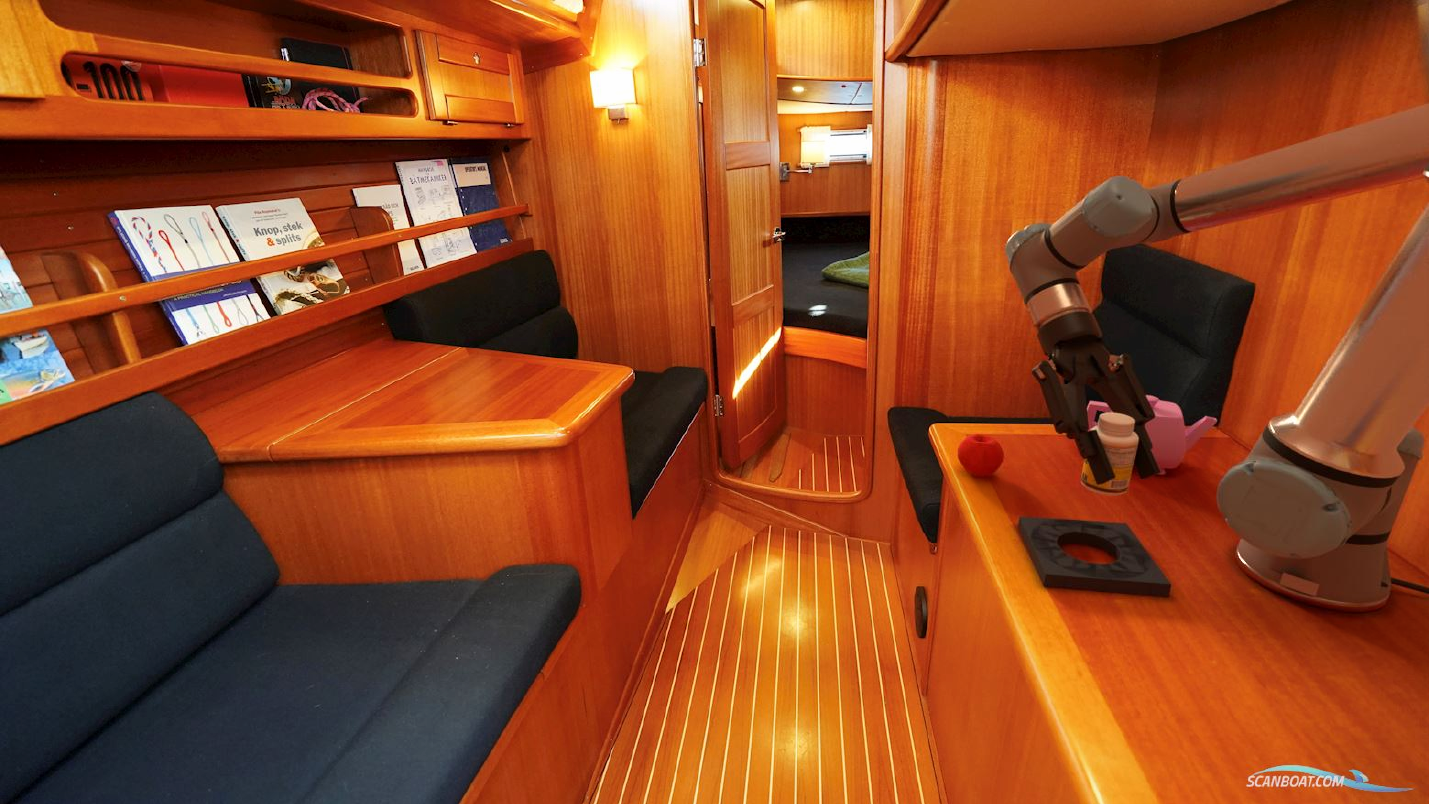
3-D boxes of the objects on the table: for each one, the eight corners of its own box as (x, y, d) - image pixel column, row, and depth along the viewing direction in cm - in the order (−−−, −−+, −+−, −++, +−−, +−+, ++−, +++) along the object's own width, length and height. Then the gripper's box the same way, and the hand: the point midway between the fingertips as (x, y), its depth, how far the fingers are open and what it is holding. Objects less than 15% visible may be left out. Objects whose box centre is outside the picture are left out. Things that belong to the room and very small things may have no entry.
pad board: (1124, 534, 96) (1126, 522, 96) (1168, 597, 83) (1172, 584, 82) (1017, 527, 100) (1019, 516, 99) (1043, 586, 86) (1045, 574, 85)
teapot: (1076, 465, 118) (1087, 401, 113) (1076, 440, 128) (1086, 380, 124) (1209, 486, 109) (1227, 417, 104) (1198, 457, 119) (1214, 393, 115)
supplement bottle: (1087, 474, 90) (1100, 406, 86) (1132, 487, 86) (1148, 416, 82) (1073, 488, 86) (1086, 418, 83) (1119, 502, 82) (1135, 429, 79)
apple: (948, 464, 120) (952, 428, 118) (991, 463, 120) (996, 427, 117) (962, 484, 113) (966, 446, 110) (1008, 483, 113) (1013, 445, 110)
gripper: (1106, 331, 95) (1172, 479, 86) (990, 341, 93) (1045, 494, 84) (1140, 304, 89) (1216, 461, 79) (1016, 313, 86) (1079, 477, 77)
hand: (1128, 478), depth 81 cm, fingers closed on supplement bottle, 6 cm apart
